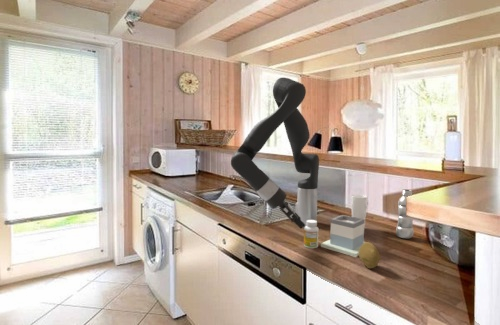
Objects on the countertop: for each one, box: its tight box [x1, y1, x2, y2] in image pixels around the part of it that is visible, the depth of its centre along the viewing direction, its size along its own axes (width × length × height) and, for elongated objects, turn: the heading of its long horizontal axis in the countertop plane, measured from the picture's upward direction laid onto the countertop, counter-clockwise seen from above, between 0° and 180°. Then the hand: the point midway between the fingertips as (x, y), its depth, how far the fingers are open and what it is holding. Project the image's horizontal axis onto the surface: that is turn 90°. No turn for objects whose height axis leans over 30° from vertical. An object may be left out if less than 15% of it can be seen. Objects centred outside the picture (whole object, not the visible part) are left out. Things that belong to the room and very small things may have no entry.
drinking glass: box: [350, 194, 368, 228], centre depth 139 cm, size 7×7×15 cm
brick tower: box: [320, 214, 366, 258], centre depth 116 cm, size 14×14×11 cm
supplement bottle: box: [303, 220, 320, 249], centre depth 117 cm, size 5×5×10 cm
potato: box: [358, 241, 381, 270], centre depth 99 cm, size 7×8×8 cm
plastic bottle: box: [395, 189, 414, 240], centre depth 127 cm, size 6×7×20 cm
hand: (300, 223), depth 116 cm, fingers open, 8 cm apart
